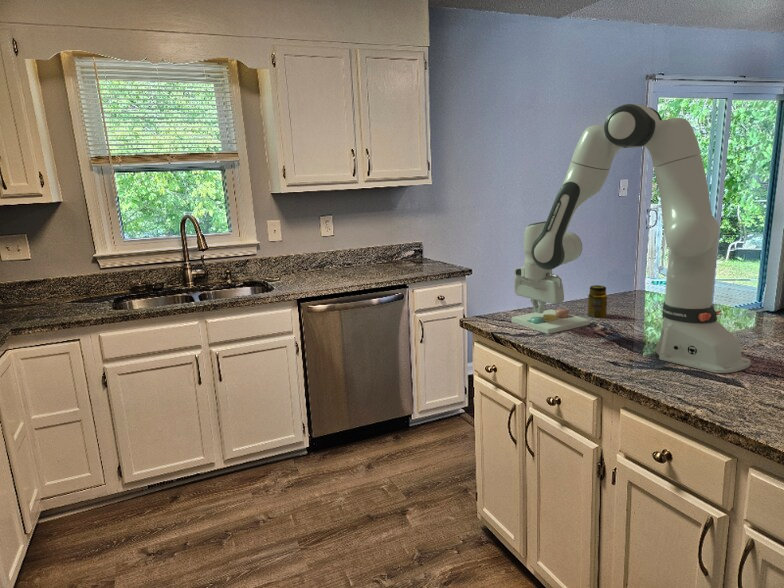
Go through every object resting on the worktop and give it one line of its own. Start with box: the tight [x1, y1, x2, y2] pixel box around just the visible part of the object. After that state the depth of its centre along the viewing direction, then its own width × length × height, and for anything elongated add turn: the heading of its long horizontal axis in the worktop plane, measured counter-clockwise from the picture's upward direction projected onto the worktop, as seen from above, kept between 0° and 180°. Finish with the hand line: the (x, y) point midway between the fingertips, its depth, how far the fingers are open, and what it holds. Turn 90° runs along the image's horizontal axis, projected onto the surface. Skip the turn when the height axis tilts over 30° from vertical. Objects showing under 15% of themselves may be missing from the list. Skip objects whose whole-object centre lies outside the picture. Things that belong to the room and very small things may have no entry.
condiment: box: [587, 285, 608, 319], centre depth 177 cm, size 7×8×12 cm
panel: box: [511, 308, 591, 335], centre depth 173 cm, size 18×18×3 cm
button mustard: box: [543, 314, 556, 321], centre depth 173 cm, size 4×4×4 cm
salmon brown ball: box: [555, 308, 570, 319], centre depth 175 cm, size 4×4×4 cm
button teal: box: [531, 317, 544, 324], centre depth 171 cm, size 4×4×4 cm
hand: (538, 312), depth 170 cm, fingers closed
